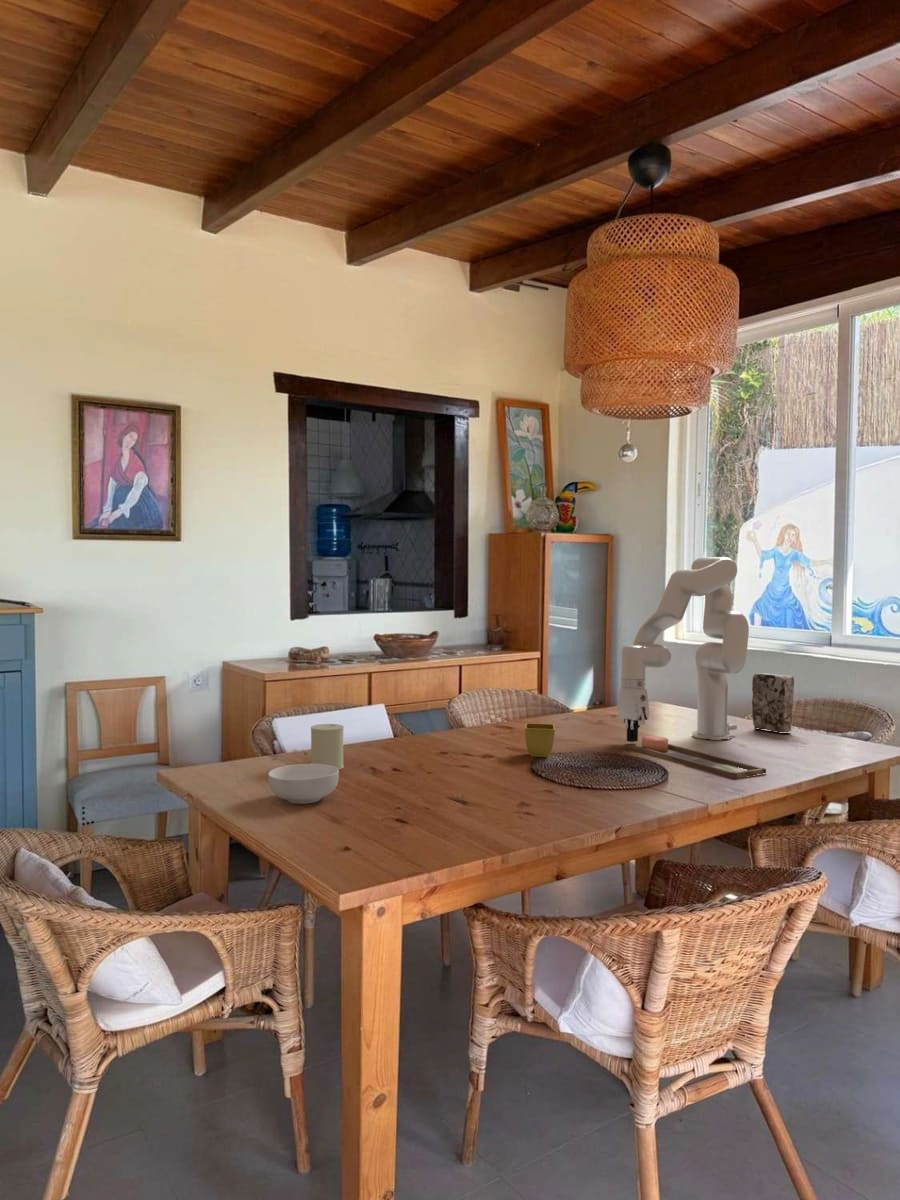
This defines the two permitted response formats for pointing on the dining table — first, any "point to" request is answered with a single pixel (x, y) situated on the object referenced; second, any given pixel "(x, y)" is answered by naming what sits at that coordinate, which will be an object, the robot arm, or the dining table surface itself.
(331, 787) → the cereal bowl
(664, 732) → the dining table surface
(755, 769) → the trap lane
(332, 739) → the can
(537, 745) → the flower pot
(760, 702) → the stone block
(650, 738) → the salmon rounded disc
